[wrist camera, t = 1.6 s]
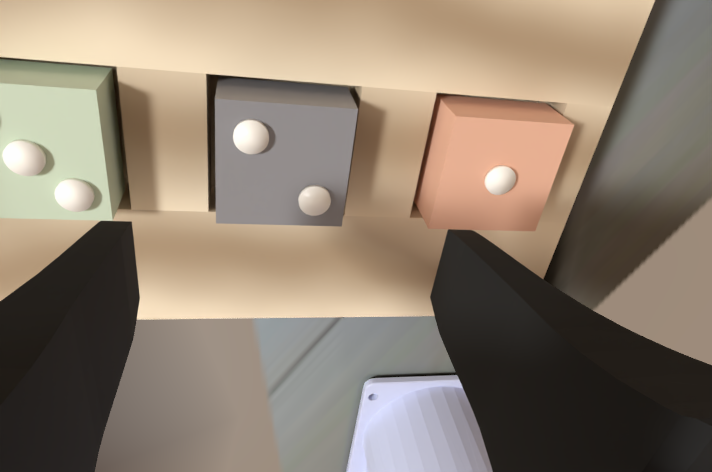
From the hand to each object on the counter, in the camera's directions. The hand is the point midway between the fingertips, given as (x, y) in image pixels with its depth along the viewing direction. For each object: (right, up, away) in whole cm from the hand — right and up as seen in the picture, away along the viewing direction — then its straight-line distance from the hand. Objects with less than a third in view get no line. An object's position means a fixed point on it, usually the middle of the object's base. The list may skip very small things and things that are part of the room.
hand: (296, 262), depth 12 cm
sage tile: (-8, +4, +4) cm, 10 cm away
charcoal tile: (-1, +4, +6) cm, 7 cm away
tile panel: (-1, +5, +7) cm, 8 cm away
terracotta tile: (+6, +4, +7) cm, 10 cm away
